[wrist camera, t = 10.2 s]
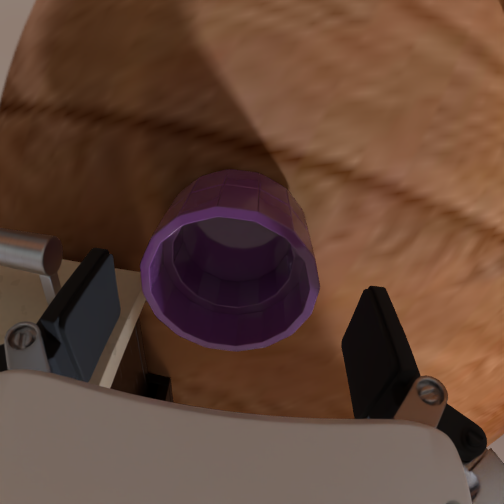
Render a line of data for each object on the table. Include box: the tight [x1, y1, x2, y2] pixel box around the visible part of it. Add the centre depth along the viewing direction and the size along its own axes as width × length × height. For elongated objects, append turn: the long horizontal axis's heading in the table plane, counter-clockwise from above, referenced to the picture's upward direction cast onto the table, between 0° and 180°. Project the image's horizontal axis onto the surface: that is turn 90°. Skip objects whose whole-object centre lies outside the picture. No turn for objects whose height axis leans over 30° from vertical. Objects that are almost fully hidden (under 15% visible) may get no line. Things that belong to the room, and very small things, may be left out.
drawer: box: [0, 228, 153, 399], centre depth 15 cm, size 18×11×8 cm, turn 172°
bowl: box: [140, 169, 320, 351], centre depth 14 cm, size 7×7×5 cm
